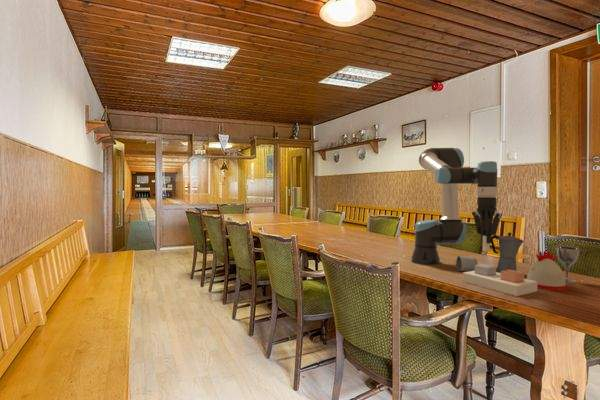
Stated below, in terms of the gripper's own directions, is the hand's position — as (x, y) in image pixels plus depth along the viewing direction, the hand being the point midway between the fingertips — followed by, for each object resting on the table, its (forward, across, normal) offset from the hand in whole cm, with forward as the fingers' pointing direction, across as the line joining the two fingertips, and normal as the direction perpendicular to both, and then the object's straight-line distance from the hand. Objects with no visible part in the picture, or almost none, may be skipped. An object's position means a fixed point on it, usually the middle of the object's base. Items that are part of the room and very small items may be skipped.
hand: (486, 250), depth 156 cm
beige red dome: (+15, +15, +19) cm, 28 cm away
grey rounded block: (+10, 0, 0) cm, 10 cm away
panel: (+15, +6, 0) cm, 16 cm away
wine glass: (+15, +15, +36) cm, 42 cm away
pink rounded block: (+11, +12, 0) cm, 16 cm away
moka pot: (+14, -7, +26) cm, 31 cm away
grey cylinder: (+15, -20, +12) cm, 28 cm away
